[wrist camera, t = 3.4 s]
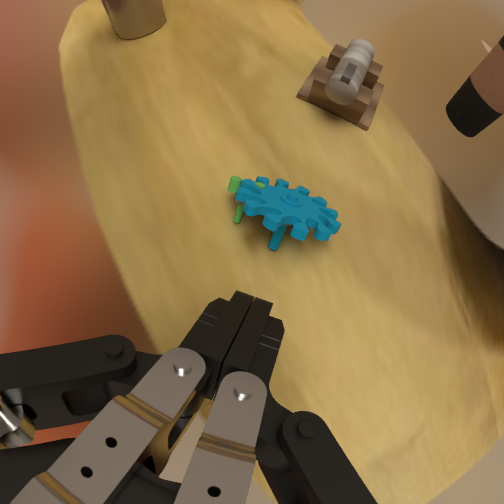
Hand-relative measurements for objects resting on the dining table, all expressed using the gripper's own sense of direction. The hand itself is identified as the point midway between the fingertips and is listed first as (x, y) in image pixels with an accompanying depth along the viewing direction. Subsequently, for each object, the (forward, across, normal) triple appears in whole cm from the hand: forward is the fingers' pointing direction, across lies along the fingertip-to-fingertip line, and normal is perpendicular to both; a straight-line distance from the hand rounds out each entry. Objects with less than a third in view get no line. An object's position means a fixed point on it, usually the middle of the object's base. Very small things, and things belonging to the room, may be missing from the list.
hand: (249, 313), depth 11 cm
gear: (+20, +2, +3) cm, 20 cm away
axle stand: (+32, -1, -13) cm, 34 cm away
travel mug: (+39, -22, -19) cm, 48 cm away
